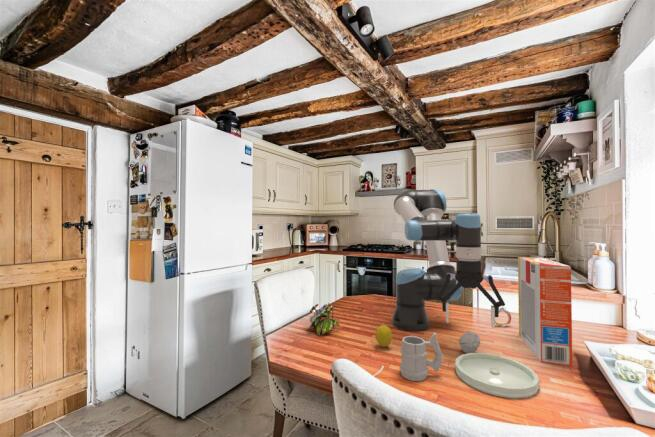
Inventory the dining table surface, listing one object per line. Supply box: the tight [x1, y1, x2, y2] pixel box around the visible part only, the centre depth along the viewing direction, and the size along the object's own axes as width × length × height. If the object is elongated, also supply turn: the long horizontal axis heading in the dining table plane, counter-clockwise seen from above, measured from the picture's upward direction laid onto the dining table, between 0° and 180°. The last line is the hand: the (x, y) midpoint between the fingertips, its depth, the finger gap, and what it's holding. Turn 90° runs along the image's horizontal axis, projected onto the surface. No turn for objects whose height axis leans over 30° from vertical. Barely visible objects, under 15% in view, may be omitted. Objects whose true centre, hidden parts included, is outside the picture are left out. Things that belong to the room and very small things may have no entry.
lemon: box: [375, 323, 393, 349], centre depth 103 cm, size 6×6×8 cm
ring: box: [495, 306, 512, 328], centre depth 123 cm, size 7×3×8 cm, turn 76°
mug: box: [399, 332, 443, 382], centre depth 84 cm, size 8×12×12 cm, turn 87°
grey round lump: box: [458, 330, 481, 354], centre depth 98 cm, size 6×7×7 cm
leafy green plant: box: [309, 302, 341, 337], centre depth 119 cm, size 13×12×14 cm
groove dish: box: [455, 352, 540, 400], centre depth 83 cm, size 20×20×2 cm
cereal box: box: [517, 256, 573, 367], centre depth 101 cm, size 23×8×30 cm, turn 161°
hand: (469, 324), depth 98 cm, fingers open, 13 cm apart
